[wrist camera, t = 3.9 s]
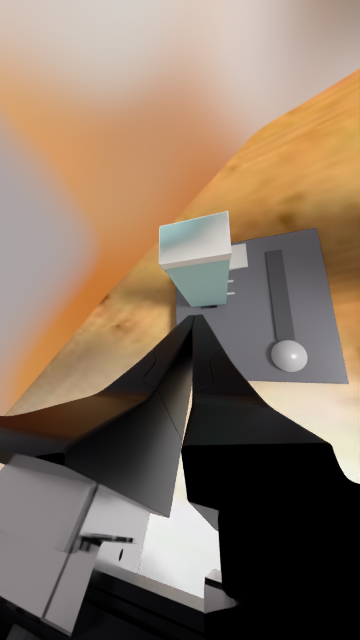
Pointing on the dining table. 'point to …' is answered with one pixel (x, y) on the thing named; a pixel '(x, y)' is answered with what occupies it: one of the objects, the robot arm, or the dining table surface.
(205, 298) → the fader tab
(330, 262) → the dining table surface
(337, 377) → the console panel
